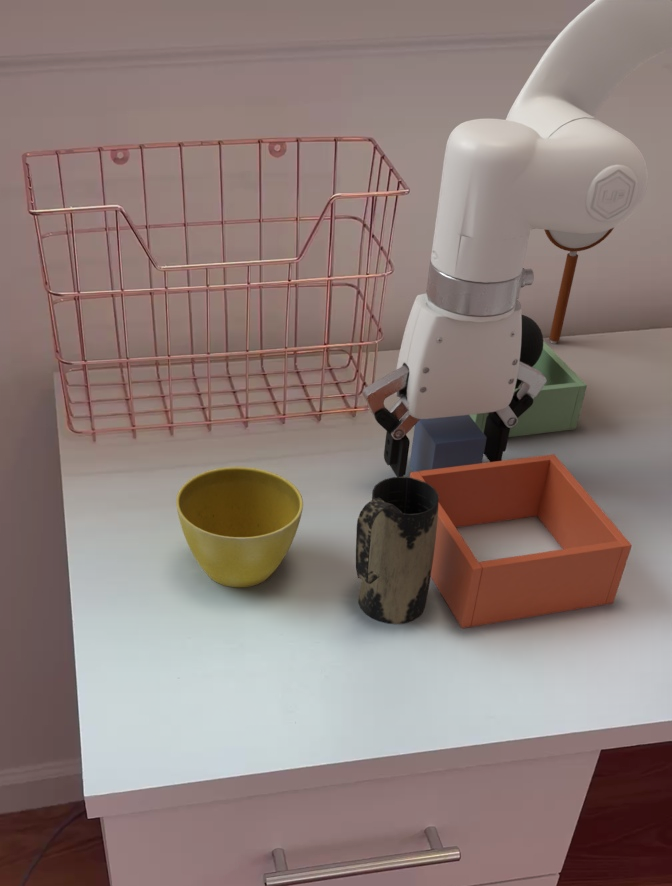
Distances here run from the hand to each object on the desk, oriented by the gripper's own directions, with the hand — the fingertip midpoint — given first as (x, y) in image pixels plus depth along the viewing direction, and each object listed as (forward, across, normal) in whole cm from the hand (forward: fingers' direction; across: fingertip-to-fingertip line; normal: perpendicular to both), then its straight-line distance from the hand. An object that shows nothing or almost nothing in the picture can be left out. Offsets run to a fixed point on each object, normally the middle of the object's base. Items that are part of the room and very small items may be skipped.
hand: (443, 463), depth 97 cm
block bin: (+2, 0, +14) cm, 14 cm away
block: (+2, 0, 0) cm, 2 cm away
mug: (+2, +12, +17) cm, 21 cm away
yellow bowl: (+2, +22, +9) cm, 24 cm away
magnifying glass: (+2, -24, -24) cm, 34 cm away
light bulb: (+2, -11, -11) cm, 16 cm away
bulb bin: (+2, -11, -11) cm, 16 cm away
